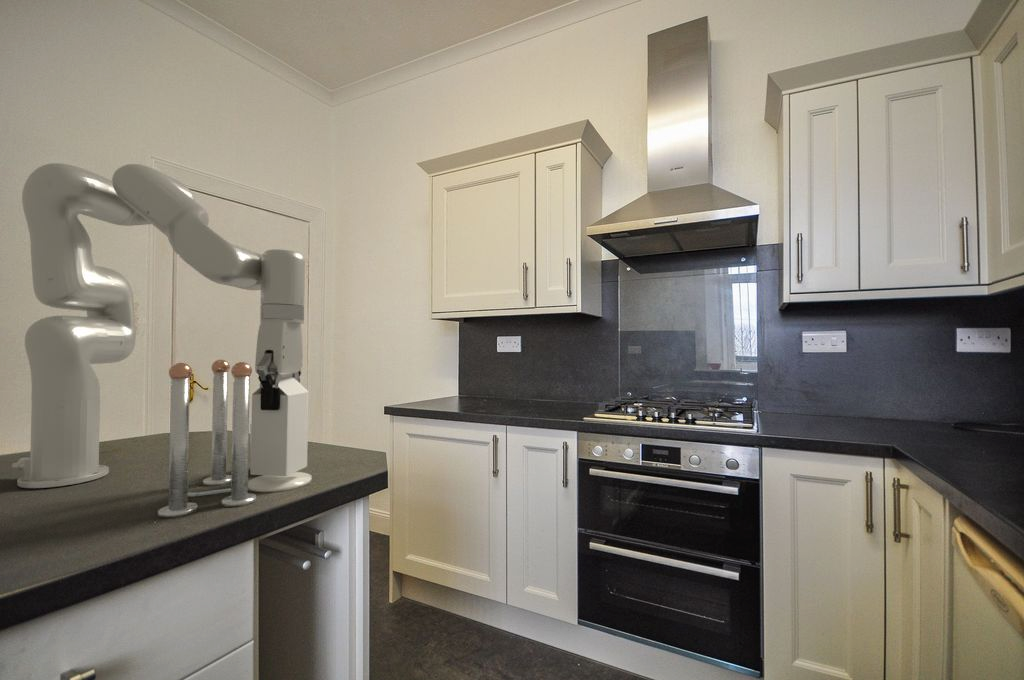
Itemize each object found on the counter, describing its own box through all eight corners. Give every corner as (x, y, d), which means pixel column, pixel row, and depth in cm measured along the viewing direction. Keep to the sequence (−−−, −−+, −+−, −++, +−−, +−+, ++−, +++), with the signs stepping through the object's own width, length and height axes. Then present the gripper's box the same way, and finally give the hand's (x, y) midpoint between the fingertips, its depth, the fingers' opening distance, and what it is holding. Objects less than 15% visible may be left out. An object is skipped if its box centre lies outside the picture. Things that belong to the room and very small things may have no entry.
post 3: (215, 507, 74) (217, 362, 74) (232, 496, 79) (234, 361, 79) (246, 506, 74) (249, 362, 74) (261, 496, 79) (264, 361, 80)
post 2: (197, 485, 85) (199, 359, 85) (213, 477, 90) (215, 359, 90) (224, 485, 85) (226, 360, 86) (239, 477, 90) (241, 359, 90)
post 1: (149, 518, 69) (152, 363, 69) (172, 506, 74) (175, 362, 74) (183, 517, 69) (186, 363, 70) (204, 506, 74) (206, 362, 75)
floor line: (168, 499, 78) (168, 497, 78) (173, 494, 80) (173, 492, 80) (244, 491, 82) (244, 489, 82) (246, 487, 84) (246, 485, 84)
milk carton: (307, 467, 90) (309, 371, 91) (286, 477, 83) (288, 373, 84) (273, 465, 91) (275, 370, 91) (249, 475, 84) (252, 372, 84)
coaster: (234, 492, 81) (234, 488, 81) (264, 474, 92) (264, 471, 92) (297, 492, 82) (297, 488, 82) (320, 474, 93) (320, 471, 93)
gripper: (283, 317, 96) (281, 401, 96) (237, 311, 79) (235, 413, 78) (319, 318, 96) (317, 401, 96) (281, 312, 79) (279, 413, 79)
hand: (280, 406), depth 87 cm, fingers closed on milk carton, 7 cm apart
